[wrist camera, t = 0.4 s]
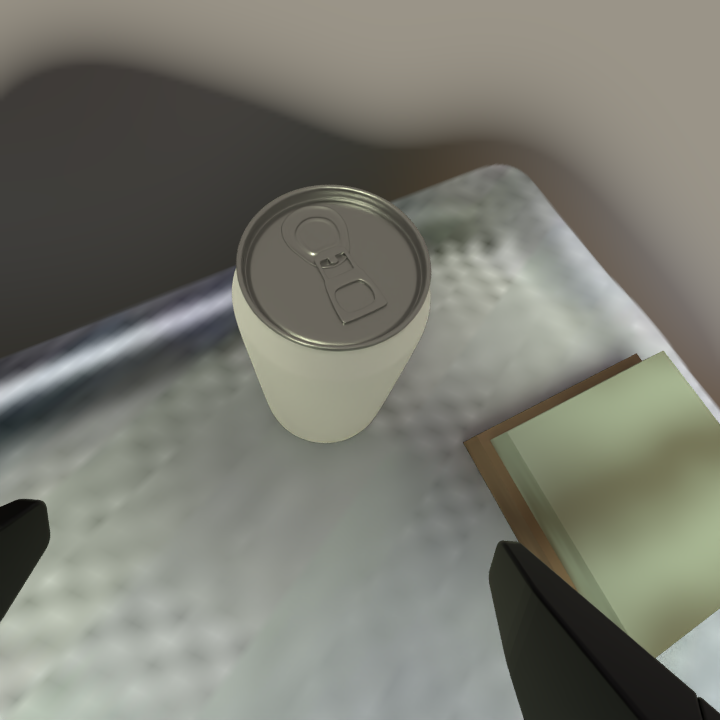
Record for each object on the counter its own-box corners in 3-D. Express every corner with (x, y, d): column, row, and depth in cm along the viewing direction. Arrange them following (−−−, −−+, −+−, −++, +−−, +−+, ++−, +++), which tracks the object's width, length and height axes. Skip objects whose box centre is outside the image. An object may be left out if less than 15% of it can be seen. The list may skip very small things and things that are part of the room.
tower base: (738, 541, 22) (823, 545, 19) (582, 655, 20) (645, 686, 16) (613, 365, 25) (664, 338, 22) (463, 442, 23) (492, 427, 19)
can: (348, 316, 25) (377, 149, 14) (404, 410, 23) (488, 306, 12) (246, 362, 23) (184, 214, 12) (298, 467, 21) (281, 408, 10)
